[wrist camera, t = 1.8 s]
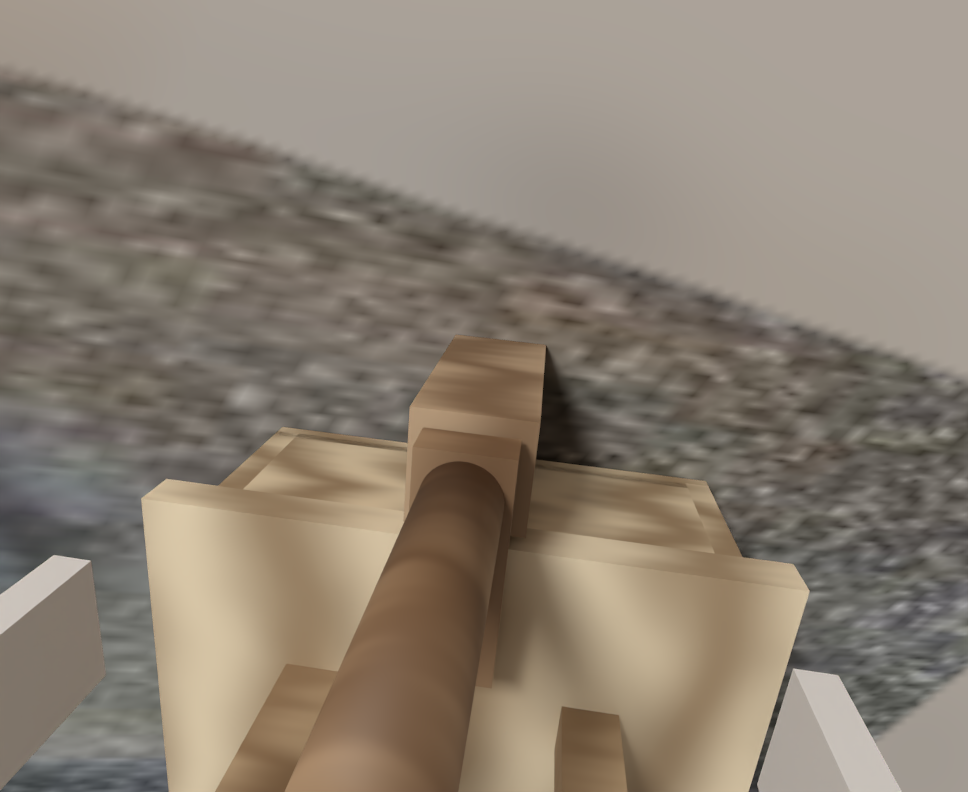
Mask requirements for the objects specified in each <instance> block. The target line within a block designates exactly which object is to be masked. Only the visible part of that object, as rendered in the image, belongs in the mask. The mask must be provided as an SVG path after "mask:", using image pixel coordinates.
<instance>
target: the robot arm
mask: <svg viewBox="0 0 968 792" xmlns="http://www.w3.org/2000/svg"><path fill="white" fill-rule="evenodd" d="M105 675H106V671H105V664H104V656H103V648H102V641H101V633H100V625H99V618H98V610H97V602H96V595H95V587H94V579H93V572H92V564H91V561H89V560H83V559H76V558H70V557H63V556H57V555H53V556H52V557H50V558H49V559H48V560H46V561H45V562H44V563H42V564H41V565H40V566H38V567H37V568H36V569H34V570H33V571H32V572H30V573H29V574H28V575H26V576H25V577H24V578H22V579H21V580H20V581H18V582H17V583H16V584H14V585H13V586H12V587H10V588H9V589H8V590H6V591H5V592H4V593H2V594H1V595H0V790H1V789H2V788H3V787H4V786H5V785H6V784H7V782H8V781H9V780H10V779H11V778H12V777H13V776H14V775H15V774H16V773H17V771H18V770H19V769H20V768H21V767H22V766H23V765H24V764H25V763H26V762H27V761H28V759H29V758H30V757H31V756H32V755H33V754H34V753H35V752H36V751H37V750H38V749H39V747H40V746H41V745H42V744H43V743H44V742H45V741H46V740H47V739H48V738H49V737H50V735H51V734H52V733H53V732H54V731H55V730H56V729H57V728H58V727H59V726H60V725H61V723H62V722H63V721H64V720H65V719H66V718H67V717H68V716H69V715H70V714H71V713H72V711H73V710H74V709H75V708H76V707H77V706H78V705H79V704H80V703H81V702H82V701H83V699H84V698H85V697H86V696H87V695H88V694H89V693H90V692H91V691H92V690H93V689H94V687H95V686H96V685H97V684H98V683H99V682H100V681H101V680H102V679H103V678H104V677H105ZM757 786H758V789H759V792H902V791H901V790H900V788H899V786H898V784H897V782H896V780H895V779H894V777H893V775H892V773H891V771H890V769H889V768H888V766H887V764H886V762H885V760H884V759H883V757H882V755H881V753H880V751H879V749H878V747H877V746H876V744H875V742H874V740H873V738H872V736H871V735H870V733H869V731H868V729H867V727H866V725H865V724H864V722H863V720H862V718H861V716H860V714H859V713H858V711H857V709H856V707H855V705H854V703H853V702H852V700H851V698H850V696H849V694H848V692H847V691H846V689H845V687H844V685H843V683H842V681H841V680H840V678H839V676H838V675H832V674H826V673H819V672H813V671H806V670H800V669H793V671H792V674H791V677H790V680H789V684H788V687H787V690H786V693H785V696H784V700H783V703H782V706H781V709H780V713H779V716H778V719H777V722H776V725H775V729H774V732H773V735H772V738H771V741H770V745H769V748H768V751H767V754H766V758H765V761H764V764H763V767H762V770H761V774H760V777H759V780H758V783H757Z"/></svg>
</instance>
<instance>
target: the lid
mask: <svg viewBox="0 0 968 792" xmlns="http://www.w3.org/2000/svg"><path fill="white" fill-rule="evenodd" d="M141 501H142V511H143V522H144V533H145V543H146V554H147V564H148V575H149V585H150V596H151V607H152V617H153V628H154V638H155V649H156V660H157V670H158V681H159V691H160V702H161V712H162V723H163V734H164V744H165V755H166V765H167V776H168V787H169V792H285V789H286V787H287V785H288V783H289V780H290V778H291V776H292V774H293V771H294V769H295V767H296V765H297V762H298V760H299V758H300V756H301V753H302V751H303V749H304V747H305V744H306V742H307V740H308V738H309V735H310V733H311V731H312V729H313V726H314V724H315V722H316V720H317V717H318V715H319V713H320V711H321V708H322V706H323V704H324V702H325V699H326V697H327V695H328V693H329V690H330V688H331V686H332V684H333V681H334V679H335V677H336V675H337V672H338V670H339V668H340V666H341V663H342V661H343V659H344V657H345V654H346V652H347V650H348V648H349V645H350V643H351V641H352V639H353V636H354V634H355V632H356V629H357V627H358V625H359V623H360V620H361V618H362V616H363V614H364V611H365V609H366V607H367V605H368V602H369V600H370V598H371V596H372V593H373V591H374V589H375V587H376V584H377V582H378V580H379V578H380V575H381V573H382V571H383V569H384V566H385V564H386V562H387V560H388V557H389V555H390V553H391V551H392V548H393V546H394V544H395V542H396V539H397V537H398V535H399V533H400V530H401V528H402V526H403V524H404V521H403V519H404V511H398V510H391V509H384V508H376V507H369V506H362V505H354V504H347V503H339V502H332V501H325V500H317V499H310V498H303V497H295V496H288V495H281V494H273V493H266V492H259V491H251V490H244V489H236V488H229V487H222V486H214V485H207V484H200V483H192V482H185V481H178V480H170V479H166V480H165V481H163V482H162V483H161V484H159V485H158V486H157V487H156V488H154V489H153V490H152V491H150V492H149V493H148V494H147V495H145V496H144V497H143V498H141ZM809 592H810V591H809V589H808V588H807V586H806V584H805V583H804V581H803V579H802V578H801V576H800V575H799V573H798V571H797V570H796V568H795V566H794V565H793V564H788V563H781V562H773V561H766V560H759V559H751V558H744V557H737V556H729V555H722V554H715V553H707V552H700V551H693V550H685V549H678V548H670V547H663V546H656V545H648V544H641V543H634V542H626V541H619V540H612V539H604V538H597V537H590V536H582V535H575V534H567V533H560V532H553V531H545V530H538V529H531V528H527V532H526V538H521V537H513V536H510V541H509V550H508V558H507V567H506V575H505V583H504V592H503V600H502V608H501V617H500V625H499V634H498V642H497V650H496V658H495V666H494V674H493V682H492V689H491V688H485V687H479V686H475V692H474V698H473V704H472V710H471V716H470V722H469V729H468V735H467V741H466V747H465V753H464V759H463V766H462V772H461V778H460V784H459V790H458V792H749V789H750V785H751V782H752V779H753V775H754V772H755V769H756V766H757V762H758V759H759V756H760V752H761V749H762V746H763V743H764V739H765V736H766V733H767V729H768V726H769V723H770V720H771V716H772V713H773V710H774V706H775V703H776V700H777V697H778V693H779V690H780V687H781V683H782V680H783V677H784V674H785V670H786V667H787V664H788V660H789V657H790V654H791V651H792V647H793V644H794V641H795V637H796V634H797V631H798V628H799V624H800V621H801V618H802V614H803V611H804V608H805V605H806V601H807V598H808V595H809Z"/></svg>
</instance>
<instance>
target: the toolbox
mask: <svg viewBox="0 0 968 792" xmlns="http://www.w3.org/2000/svg"><path fill="white" fill-rule="evenodd" d="M545 353H546V345H542V344H533V343H524V342H516V341H507V340H498V339H490V338H481V337H472V336H464V335H455V337H454V339H453V340H452V342H451V343H450V345H449V346H448V348H447V349H446V351H445V353H444V354H443V356H442V357H441V359H440V360H439V362H438V363H437V365H436V367H435V368H434V370H433V371H432V373H431V374H430V376H429V377H428V379H427V381H426V382H425V384H424V385H423V387H422V388H421V390H420V391H419V393H418V395H417V396H416V398H415V399H414V401H413V402H412V404H411V405H410V413H409V430H408V443H404V442H396V441H388V440H380V439H373V438H365V437H357V436H349V435H341V434H334V433H326V432H318V431H310V430H302V429H295V428H287V427H282V428H281V429H280V430H279V431H278V432H277V433H276V434H274V435H273V436H272V437H271V438H270V439H269V440H268V441H267V442H266V443H265V444H263V445H262V446H261V447H260V448H259V449H258V450H257V451H256V452H255V453H254V454H253V455H251V456H250V457H249V458H248V459H247V460H246V461H245V462H244V463H243V464H242V465H240V466H239V467H238V468H237V469H236V470H235V471H234V472H233V473H232V474H231V475H230V476H228V477H227V478H226V479H225V480H224V481H223V482H222V483H221V484H220V485H219V486H222V487H229V488H236V489H244V490H251V491H259V492H266V493H273V494H281V495H288V496H295V497H303V498H310V499H317V500H325V501H332V502H339V503H347V504H354V505H362V506H369V507H376V508H384V509H391V510H398V511H404V519H403V521H405V519H406V517H407V515H408V512H409V499H410V482H411V465H412V448H413V445H414V443H415V441H416V440H417V438H418V436H419V434H420V432H421V430H422V428H423V427H425V428H433V429H441V430H449V431H456V432H464V433H472V434H480V435H488V436H496V437H504V438H512V439H520V440H522V441H521V449H520V458H519V466H518V474H517V483H516V491H515V500H514V508H513V516H512V525H511V533H510V536H513V537H521V538H526V532H527V528H531V529H538V530H545V531H553V532H560V533H567V534H575V535H582V536H590V537H597V538H604V539H612V540H619V541H626V542H634V543H641V544H648V545H656V546H663V547H670V548H678V549H685V550H693V551H700V552H707V553H715V554H722V555H729V556H737V557H742V555H741V553H740V551H739V549H738V547H737V545H736V543H735V541H734V539H733V537H732V534H731V532H730V530H729V528H728V526H727V524H726V522H725V520H724V518H723V516H722V514H721V512H720V510H719V508H718V506H717V503H716V501H715V499H714V497H713V495H712V493H711V491H710V489H709V487H708V485H707V483H706V481H700V480H693V479H685V478H677V477H669V476H661V475H654V474H646V473H638V472H630V471H622V470H615V469H607V468H599V467H591V466H583V465H576V464H568V463H560V462H552V461H544V460H537V459H536V454H537V446H538V439H539V431H540V423H541V409H542V395H543V381H544V367H545Z"/></svg>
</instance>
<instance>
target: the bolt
mask: <svg viewBox="0 0 968 792" xmlns="http://www.w3.org/2000/svg"><path fill="white" fill-rule="evenodd" d="M521 441H522V440H520V439H512V438H504V437H496V436H488V435H480V434H472V433H464V432H456V431H449V430H441V429H433V428H425V427H423V428H422V430H421V432H420V434H419V436H418V438H417V440H416V441H415V443H414V445H413V448H412V465H411V482H410V499H409V512H408V515H407V517H406V519H405V521H404V524H403V526H402V528H401V530H400V533H399V535H398V537H397V539H396V542H395V544H394V546H393V548H392V551H391V553H390V555H389V557H388V560H387V562H386V564H385V566H384V569H383V571H382V573H381V575H380V578H379V580H378V582H377V584H376V587H375V589H374V591H373V593H372V596H371V598H370V600H369V602H368V605H367V607H366V609H365V611H364V614H363V616H362V618H361V620H360V623H359V625H358V627H357V629H356V632H355V634H354V636H353V639H352V641H351V643H350V645H349V648H348V650H347V652H346V654H345V657H344V659H343V661H342V663H341V666H340V668H339V670H338V672H337V675H336V677H335V679H334V681H333V684H332V686H331V688H330V690H329V693H328V695H327V697H326V699H325V702H324V704H323V706H322V708H321V711H320V713H319V715H318V717H317V720H316V722H315V724H314V726H313V729H312V731H311V733H310V735H309V738H308V740H307V742H306V744H305V747H304V749H303V751H302V753H301V756H300V758H299V760H298V762H297V765H296V767H295V769H294V771H293V774H292V776H291V778H290V780H289V783H288V785H287V787H286V789H285V792H458V790H459V784H460V778H461V772H462V766H463V759H464V753H465V747H466V741H467V735H468V729H469V722H470V716H471V710H472V704H473V698H474V692H475V686H479V687H485V688H491V689H492V682H493V674H494V666H495V658H496V650H497V642H498V634H499V625H500V617H501V608H502V600H503V592H504V583H505V575H506V567H507V558H508V550H509V541H510V533H511V525H512V516H513V508H514V500H515V491H516V483H517V474H518V466H519V458H520V449H521Z"/></svg>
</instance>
